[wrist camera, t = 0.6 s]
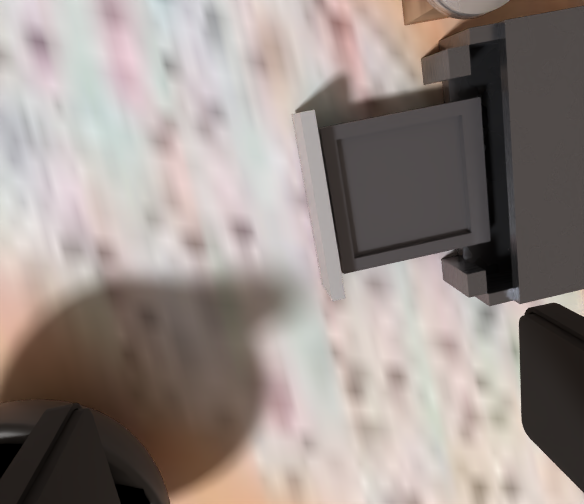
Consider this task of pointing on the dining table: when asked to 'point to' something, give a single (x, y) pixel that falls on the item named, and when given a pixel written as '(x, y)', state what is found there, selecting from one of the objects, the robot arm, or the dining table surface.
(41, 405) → the bowl of black rocks
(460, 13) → the disc
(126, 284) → the dining table surface
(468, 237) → the tray
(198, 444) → the dining table surface
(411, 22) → the block
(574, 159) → the player
